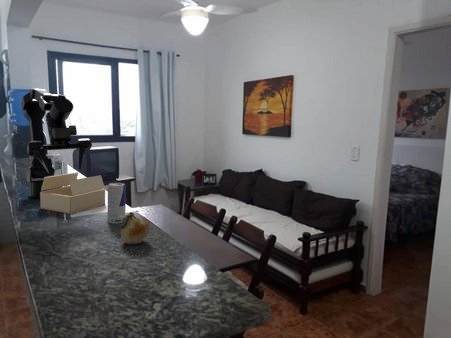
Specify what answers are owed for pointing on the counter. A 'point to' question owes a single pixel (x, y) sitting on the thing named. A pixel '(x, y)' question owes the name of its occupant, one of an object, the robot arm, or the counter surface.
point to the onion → (133, 229)
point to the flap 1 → (58, 181)
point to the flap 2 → (86, 184)
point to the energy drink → (116, 202)
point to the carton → (71, 200)
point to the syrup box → (56, 163)
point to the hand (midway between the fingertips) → (64, 170)
